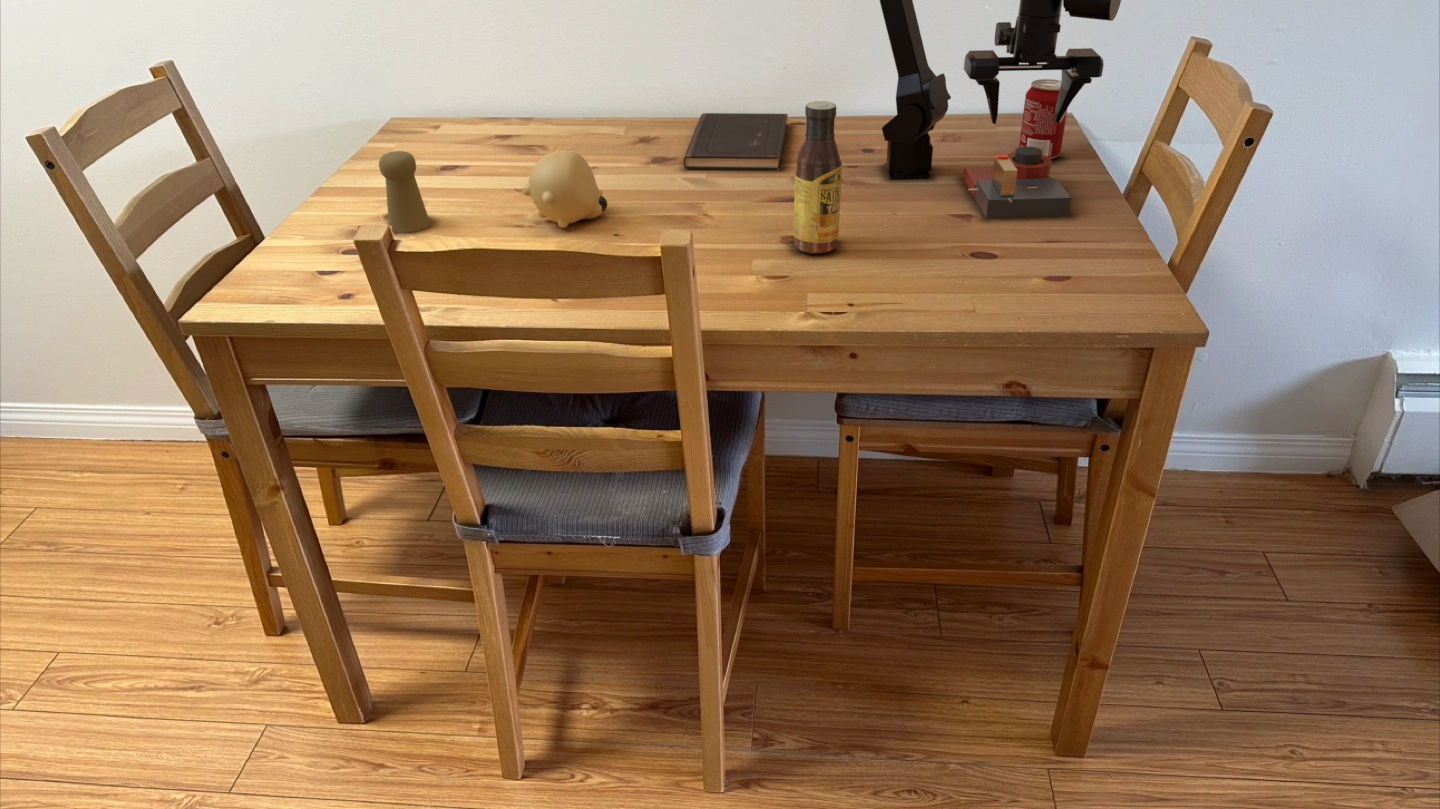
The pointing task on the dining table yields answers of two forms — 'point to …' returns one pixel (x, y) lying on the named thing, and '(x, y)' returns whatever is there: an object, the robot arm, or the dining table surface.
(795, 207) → the sauce bottle
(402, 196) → the brown game pawn
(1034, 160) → the button
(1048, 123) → the soda can
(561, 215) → the tan rounded figure
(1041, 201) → the dark grey panel
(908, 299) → the dining table surface
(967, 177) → the button box
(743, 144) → the hardcover book
